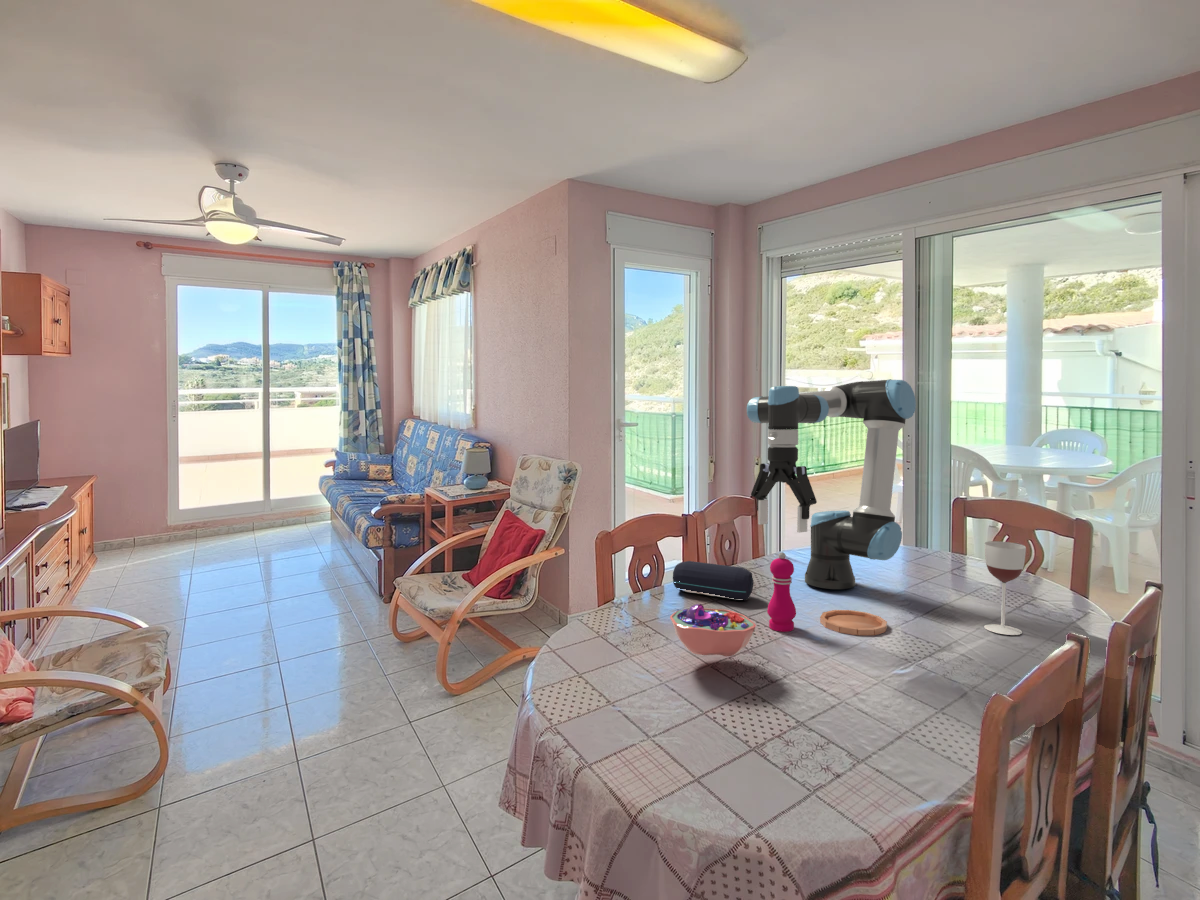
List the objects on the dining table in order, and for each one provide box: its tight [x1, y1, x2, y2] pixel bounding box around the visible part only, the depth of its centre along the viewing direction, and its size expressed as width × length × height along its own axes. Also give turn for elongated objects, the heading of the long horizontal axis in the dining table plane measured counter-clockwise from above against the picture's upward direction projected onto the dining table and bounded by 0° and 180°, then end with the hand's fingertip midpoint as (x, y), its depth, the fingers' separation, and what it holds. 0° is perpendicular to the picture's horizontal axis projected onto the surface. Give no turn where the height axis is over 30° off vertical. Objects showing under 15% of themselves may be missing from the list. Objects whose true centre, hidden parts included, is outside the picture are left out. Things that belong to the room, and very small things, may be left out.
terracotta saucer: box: [819, 609, 888, 636], centre depth 164 cm, size 16×16×2 cm
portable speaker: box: [672, 560, 754, 601], centre depth 191 cm, size 25×10×10 cm, turn 58°
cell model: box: [669, 603, 757, 658], centre depth 144 cm, size 17×20×11 cm
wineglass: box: [983, 541, 1027, 636], centre depth 159 cm, size 9×10×22 cm
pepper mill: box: [766, 552, 797, 633], centre depth 161 cm, size 7×7×20 cm
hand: (781, 527), depth 160 cm, fingers open, 13 cm apart
